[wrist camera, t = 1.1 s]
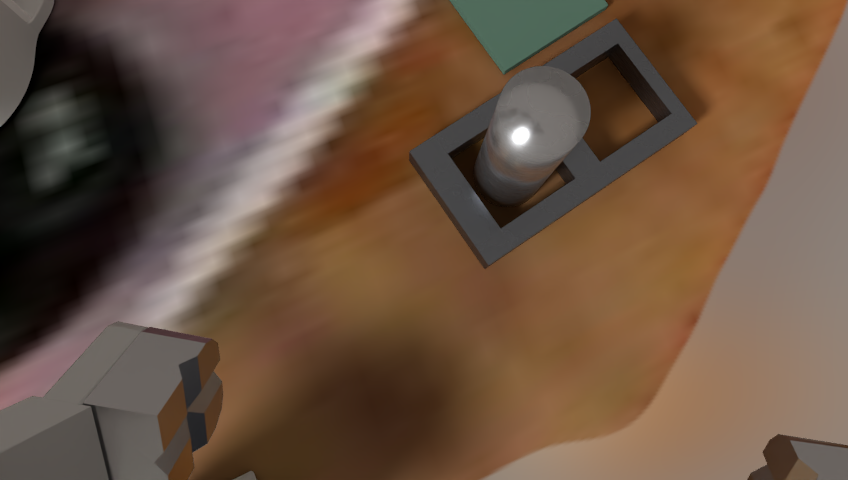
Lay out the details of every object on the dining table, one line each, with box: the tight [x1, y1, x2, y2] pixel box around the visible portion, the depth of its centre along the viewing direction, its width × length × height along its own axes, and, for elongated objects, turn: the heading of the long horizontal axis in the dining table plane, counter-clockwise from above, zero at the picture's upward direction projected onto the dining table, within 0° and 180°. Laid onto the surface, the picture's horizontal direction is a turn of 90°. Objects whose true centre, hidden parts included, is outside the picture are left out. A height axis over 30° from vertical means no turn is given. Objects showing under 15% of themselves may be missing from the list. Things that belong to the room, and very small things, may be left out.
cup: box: [473, 66, 591, 207], centre depth 37 cm, size 5×5×12 cm
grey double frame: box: [409, 19, 697, 269], centre depth 42 cm, size 9×17×2 cm, turn 124°
